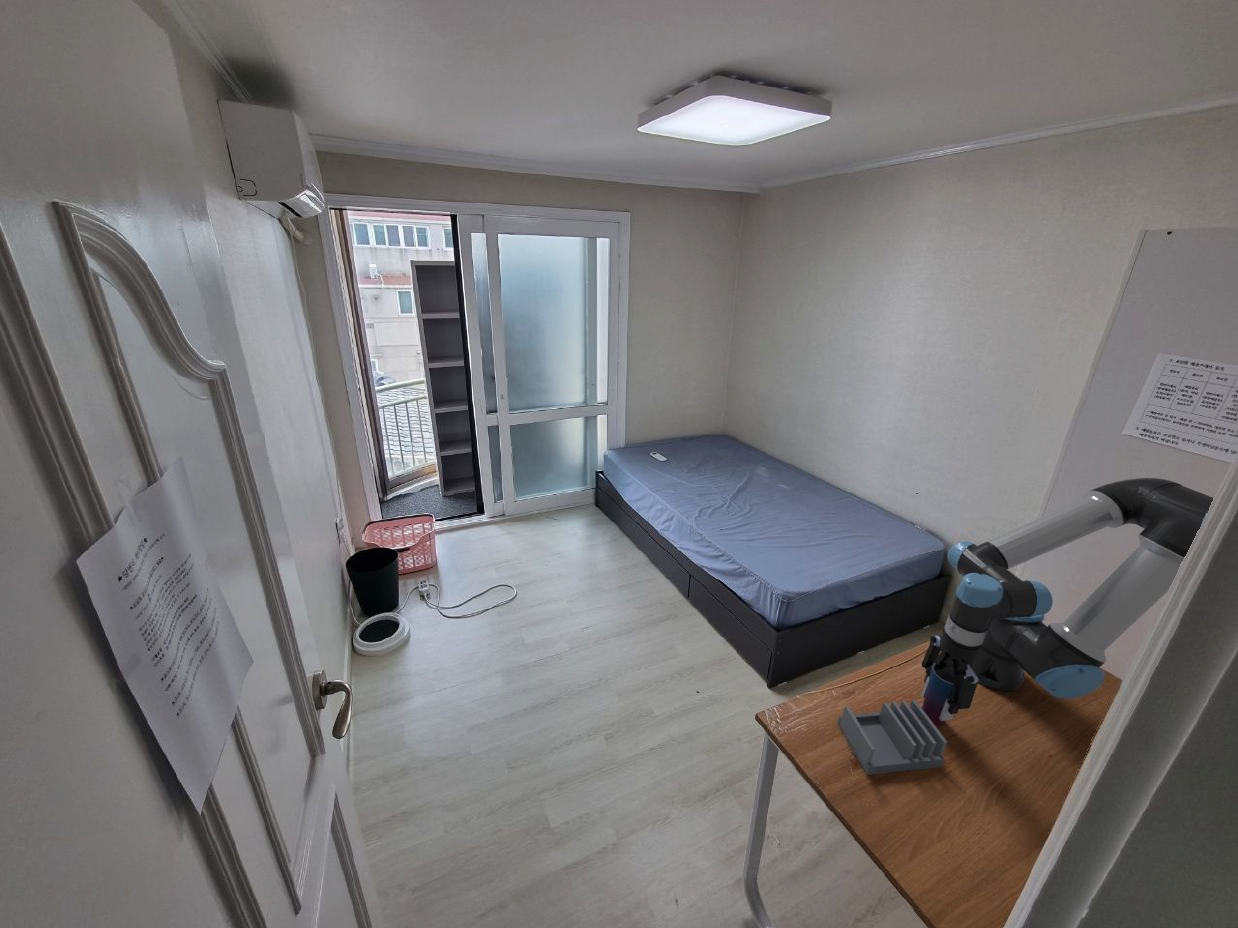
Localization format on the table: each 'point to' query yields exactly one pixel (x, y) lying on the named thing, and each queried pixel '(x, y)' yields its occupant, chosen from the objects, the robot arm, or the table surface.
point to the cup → (937, 693)
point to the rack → (893, 738)
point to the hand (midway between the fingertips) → (935, 707)
